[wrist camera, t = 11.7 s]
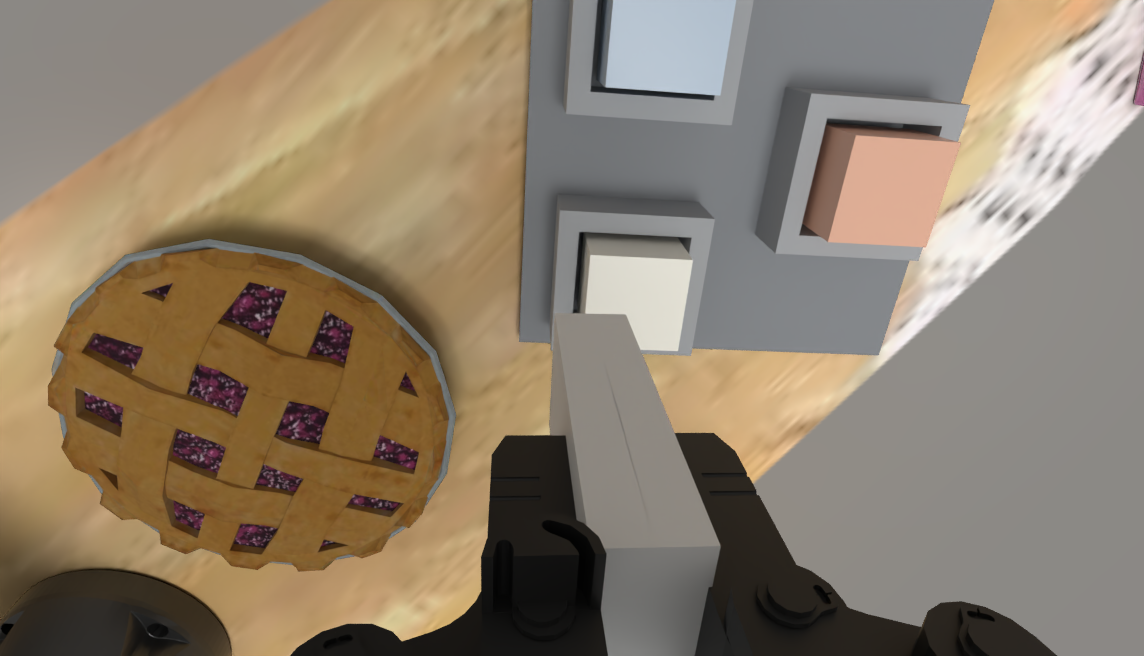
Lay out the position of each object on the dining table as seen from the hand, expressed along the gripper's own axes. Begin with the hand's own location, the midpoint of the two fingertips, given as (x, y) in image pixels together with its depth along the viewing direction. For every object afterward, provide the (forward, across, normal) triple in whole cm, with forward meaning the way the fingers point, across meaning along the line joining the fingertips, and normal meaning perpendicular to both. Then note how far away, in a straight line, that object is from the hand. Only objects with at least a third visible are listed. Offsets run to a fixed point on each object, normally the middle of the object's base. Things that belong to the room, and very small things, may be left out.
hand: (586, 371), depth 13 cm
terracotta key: (+19, +16, +1) cm, 24 cm away
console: (+21, +10, +1) cm, 24 cm away
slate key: (+19, +5, +7) cm, 21 cm away
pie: (+23, -16, -14) cm, 31 cm away
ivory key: (+19, +4, -5) cm, 20 cm away
